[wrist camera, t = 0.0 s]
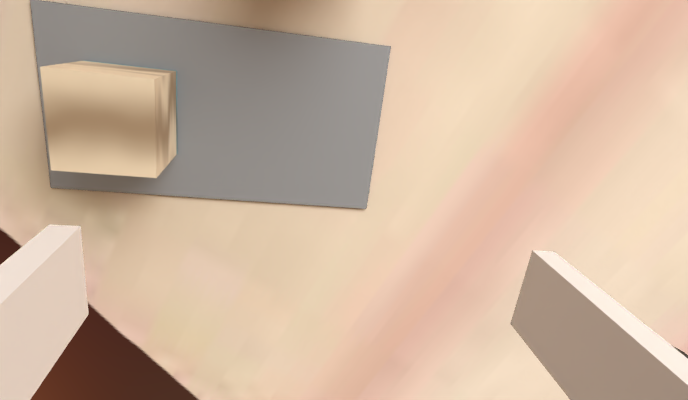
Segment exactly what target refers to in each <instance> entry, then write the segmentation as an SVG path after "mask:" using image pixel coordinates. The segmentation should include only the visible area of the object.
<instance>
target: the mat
mask: <svg viewBox="0 0 688 400" xmlns="http://www.w3.org/2000/svg"><path fill="white" fill-rule="evenodd" d="M30 3H31V12H32V21H33V30H34V39H35V49H36V58H37V67H38V76H39V85H40V94H41V103H42V113H43V122H44V131H45V140H46V149H47V158H48V167H49V176H50V186H51V188H62V189H77V190H92V191H107V192H122V193H137V194H152V195H167V196H182V197H197V198H212V199H227V200H242V201H257V202H272V203H287V204H302V205H317V206H332V207H347V208H362V209H366V208H367V201H368V194H369V188H370V181H371V175H372V168H373V161H374V155H375V148H376V141H377V135H378V128H379V122H380V115H381V108H382V102H383V95H384V88H385V82H386V75H387V69H388V62H389V55H390V49H391V46H383V45H375V44H368V43H360V42H353V41H345V40H337V39H330V38H322V37H314V36H307V35H299V34H292V33H284V32H276V31H269V30H261V29H254V28H246V27H238V26H231V25H223V24H215V23H208V22H200V21H193V20H185V19H177V18H170V17H162V16H155V15H147V14H139V13H132V12H124V11H116V10H109V9H101V8H94V7H86V6H78V5H71V4H63V3H56V2H48V1H40V0H30ZM84 60H86V61H95V62H103V63H112V64H121V65H130V66H139V67H148V68H157V69H166V70H175V71H177V155H176V156H175V157H174V158H173V159H172V161H171V162H170V163H169V164H168V165H167V166H166V168H165V169H164V170H163V171H162V172H161V173H160V175H159V176H158V177H157V178H148V177H134V176H121V175H107V174H93V173H79V172H66V171H52V170H51V166H50V157H49V147H48V138H47V129H46V120H45V110H44V101H43V92H42V82H41V73H40V67H42V66H49V65H56V64H63V63H70V62H77V61H84Z"/></svg>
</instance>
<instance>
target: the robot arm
mask: <svg viewBox="0 0 688 400" xmlns="http://www.w3.org/2000/svg"><path fill="white" fill-rule="evenodd" d="M87 315H88V302H87V291H86V280H85V268H84V257H83V245H82V234H81V226H69V225H51V224H49V225H48V226H47V227H45V228H44V229H43V230H42V231H41V232H39V233H38V234H37V235H36V236H35V237H33V238H32V239H31V240H30V241H29V242H27V243H26V244H25V245H24V246H23V247H21V248H20V249H19V250H18V251H17V252H15V253H14V254H13V255H12V256H10V257H9V258H8V259H7V260H6V261H4V262H3V263H2V264H1V265H0V400H30V399H31V398H32V396H33V395H34V393H35V392H36V390H37V389H38V387H39V386H40V385H41V383H42V381H43V380H44V379H45V377H46V376H47V374H48V373H49V371H50V370H51V368H52V367H53V365H54V364H55V362H56V361H57V360H58V358H59V357H60V355H61V354H62V352H63V351H64V349H65V348H66V346H67V345H68V343H69V342H70V341H71V339H72V338H73V336H74V335H75V333H76V332H77V330H78V329H79V327H80V326H81V324H82V323H83V321H84V320H85V319H86V317H87ZM511 325H512V326H513V328H514V329H515V330H516V331H517V333H518V334H519V335H520V336H521V338H522V339H523V340H524V342H525V343H526V344H527V345H528V347H529V348H530V349H531V350H532V352H533V353H534V354H535V356H536V357H537V358H538V359H539V361H540V362H541V363H542V364H543V366H544V367H545V368H546V369H547V371H548V372H549V373H550V375H551V376H552V377H553V378H554V380H555V381H556V382H557V383H558V385H559V386H560V387H561V389H562V390H563V391H564V392H565V394H566V395H567V396H568V397H569V399H570V400H688V355H687V354H685V353H684V352H682V351H681V350H679V349H677V348H675V347H674V346H672V345H670V344H669V343H668V342H666V341H665V340H664V339H663V338H661V337H660V336H659V335H658V334H656V333H655V332H654V331H653V330H651V329H650V328H649V327H648V326H647V325H645V324H644V323H643V322H642V321H640V320H639V319H638V318H637V317H635V316H634V315H633V314H632V313H630V312H629V311H628V310H627V309H625V308H624V307H623V306H622V305H620V304H619V303H618V302H617V301H615V300H614V299H613V298H612V297H610V296H609V295H608V294H607V293H605V292H604V291H603V290H602V289H600V288H599V287H598V286H597V285H595V284H594V283H593V282H592V281H590V280H589V279H588V278H587V277H585V276H584V275H583V274H582V273H580V272H579V271H578V270H577V269H575V268H574V267H573V266H572V265H570V264H569V263H568V262H567V261H565V260H564V259H563V258H562V257H560V256H559V255H558V254H557V253H555V252H552V251H533V250H532V253H531V257H530V260H529V264H528V267H527V270H526V274H525V277H524V280H523V284H522V287H521V290H520V294H519V297H518V300H517V304H516V307H515V310H514V314H513V317H512V320H511Z"/></svg>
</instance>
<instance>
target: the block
mask: <svg viewBox="0 0 688 400" xmlns="http://www.w3.org/2000/svg"><path fill="white" fill-rule="evenodd" d="M40 73H41V82H42V92H43V101H44V110H45V120H46V129H47V138H48V147H49V157H50V166H51V170H52V171H66V172H79V173H93V174H107V175H121V176H134V177H148V178H157V177H158V176H159V175H160V173H161V172H162V171H163V170H164V169H165V168H166V166H167V165H168V164H169V163H170V162H171V161H172V159H173V158H174V157H175V156H176V155H177V71H175V70H166V69H157V68H148V67H139V66H130V65H121V64H112V63H103V62H95V61H86V60H84V61H77V62H70V63H63V64H56V65H49V66H42V67H40Z"/></svg>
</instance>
